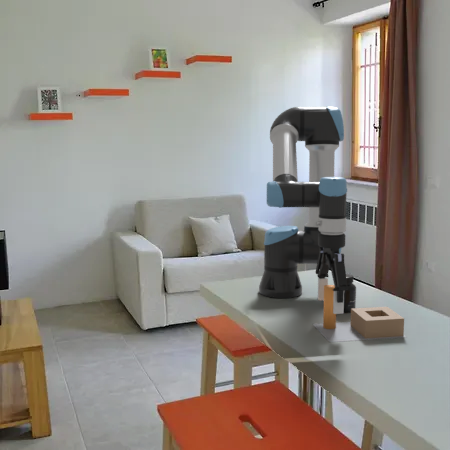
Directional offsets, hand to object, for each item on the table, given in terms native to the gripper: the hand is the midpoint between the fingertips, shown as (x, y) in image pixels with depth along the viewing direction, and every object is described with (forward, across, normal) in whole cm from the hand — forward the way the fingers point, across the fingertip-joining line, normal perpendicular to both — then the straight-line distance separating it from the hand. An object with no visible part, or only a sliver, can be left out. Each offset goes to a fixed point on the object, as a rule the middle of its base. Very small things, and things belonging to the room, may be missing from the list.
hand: (330, 306), depth 168 cm
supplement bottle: (+7, -15, +10) cm, 20 cm away
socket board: (+7, +4, +7) cm, 11 cm away
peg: (+6, 0, 0) cm, 6 cm away
